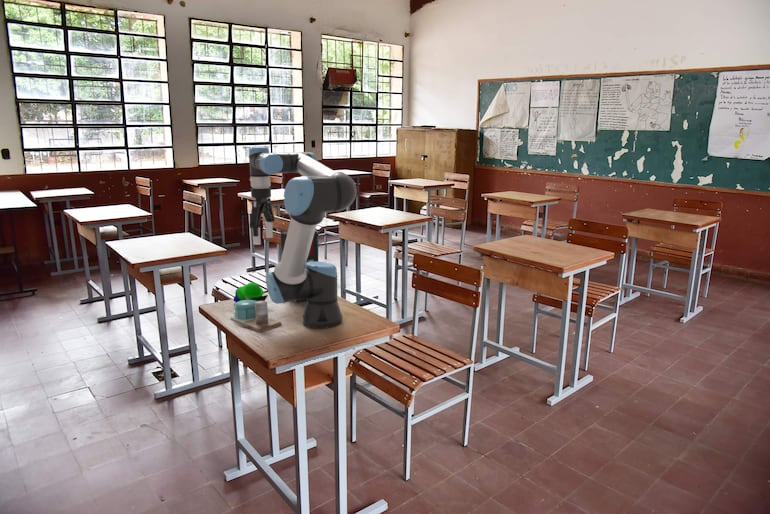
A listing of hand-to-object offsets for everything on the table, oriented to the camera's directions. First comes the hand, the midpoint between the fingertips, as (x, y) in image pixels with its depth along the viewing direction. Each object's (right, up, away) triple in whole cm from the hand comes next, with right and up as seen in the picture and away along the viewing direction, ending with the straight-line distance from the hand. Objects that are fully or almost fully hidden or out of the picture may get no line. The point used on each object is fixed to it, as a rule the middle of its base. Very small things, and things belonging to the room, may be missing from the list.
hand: (263, 241), depth 214 cm
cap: (-6, -29, -4) cm, 30 cm away
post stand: (+2, -32, -11) cm, 34 cm away
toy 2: (+12, -25, +20) cm, 34 cm away
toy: (-9, -27, +13) cm, 31 cm away
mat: (-6, -30, -3) cm, 31 cm away
